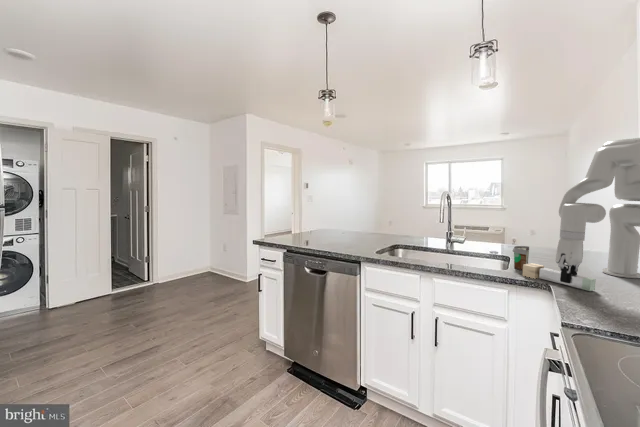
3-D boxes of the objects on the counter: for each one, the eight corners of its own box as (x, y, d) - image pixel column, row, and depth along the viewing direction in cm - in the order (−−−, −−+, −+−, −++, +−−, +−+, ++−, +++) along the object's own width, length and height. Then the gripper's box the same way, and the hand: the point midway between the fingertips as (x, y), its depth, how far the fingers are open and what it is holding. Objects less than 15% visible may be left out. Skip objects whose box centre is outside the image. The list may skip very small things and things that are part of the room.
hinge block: (531, 274, 136) (532, 263, 135) (543, 277, 131) (544, 265, 131) (522, 275, 133) (523, 264, 132) (534, 278, 128) (535, 267, 128)
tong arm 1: (539, 278, 128) (539, 268, 128) (541, 277, 129) (542, 268, 128) (589, 291, 112) (590, 280, 112) (592, 290, 113) (593, 279, 113)
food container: (513, 264, 153) (514, 244, 152) (528, 266, 149) (529, 246, 148) (509, 269, 143) (510, 248, 142) (525, 271, 139) (526, 250, 139)
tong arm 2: (541, 277, 129) (542, 268, 128) (544, 277, 130) (544, 267, 129) (592, 290, 113) (593, 279, 113) (594, 290, 114) (595, 279, 113)
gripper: (572, 233, 125) (568, 276, 127) (548, 235, 118) (545, 281, 120) (595, 235, 118) (590, 281, 120) (571, 238, 111) (567, 287, 113)
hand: (568, 281), depth 120 cm, fingers open, 3 cm apart
